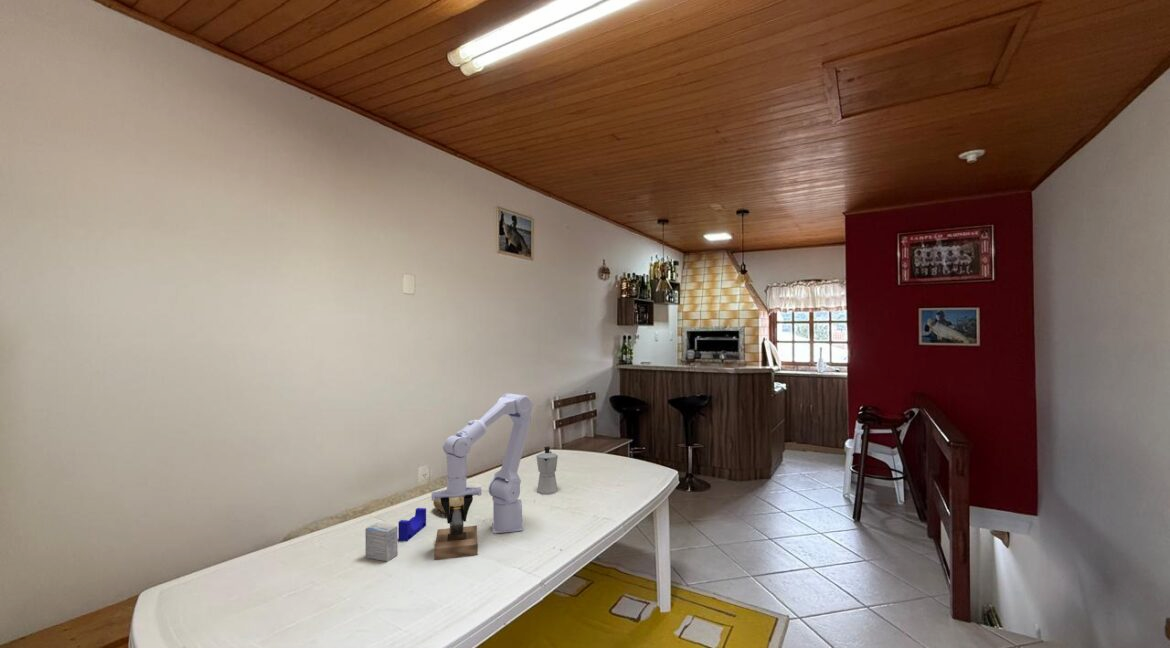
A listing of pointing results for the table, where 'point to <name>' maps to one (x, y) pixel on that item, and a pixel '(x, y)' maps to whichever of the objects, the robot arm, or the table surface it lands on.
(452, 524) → the peg
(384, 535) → the medicine box
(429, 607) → the table surface
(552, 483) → the coffee maker
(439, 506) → the bread roll
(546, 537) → the table surface
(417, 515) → the blue cradle block
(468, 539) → the dock plate
